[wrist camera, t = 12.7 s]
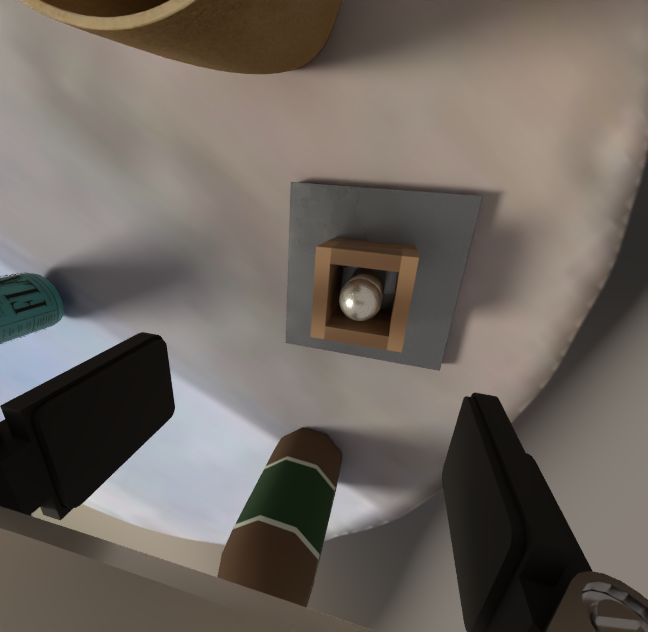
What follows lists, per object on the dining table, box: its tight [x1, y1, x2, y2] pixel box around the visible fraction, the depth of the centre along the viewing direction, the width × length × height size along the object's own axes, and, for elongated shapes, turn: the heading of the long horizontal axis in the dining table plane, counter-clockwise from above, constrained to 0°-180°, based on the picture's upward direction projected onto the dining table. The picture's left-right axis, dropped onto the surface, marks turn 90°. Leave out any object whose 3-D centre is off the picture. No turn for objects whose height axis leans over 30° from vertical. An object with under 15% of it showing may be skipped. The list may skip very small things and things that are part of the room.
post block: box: [286, 182, 482, 371], centre depth 23 cm, size 14×14×8 cm
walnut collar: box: [311, 238, 419, 352], centre depth 23 cm, size 6×6×6 cm
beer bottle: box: [218, 428, 342, 607], centre depth 24 cm, size 8×8×24 cm
